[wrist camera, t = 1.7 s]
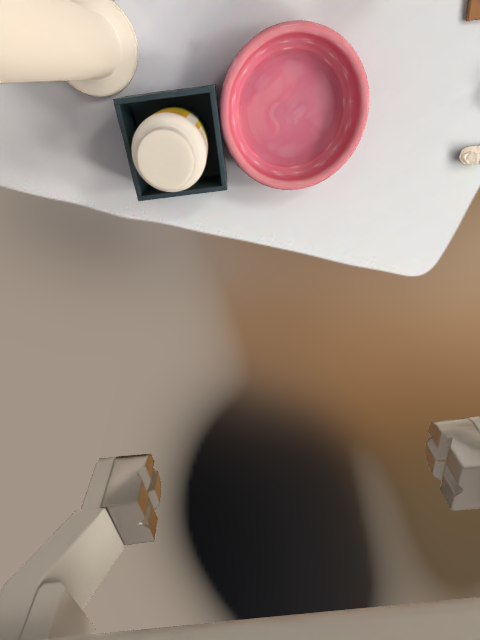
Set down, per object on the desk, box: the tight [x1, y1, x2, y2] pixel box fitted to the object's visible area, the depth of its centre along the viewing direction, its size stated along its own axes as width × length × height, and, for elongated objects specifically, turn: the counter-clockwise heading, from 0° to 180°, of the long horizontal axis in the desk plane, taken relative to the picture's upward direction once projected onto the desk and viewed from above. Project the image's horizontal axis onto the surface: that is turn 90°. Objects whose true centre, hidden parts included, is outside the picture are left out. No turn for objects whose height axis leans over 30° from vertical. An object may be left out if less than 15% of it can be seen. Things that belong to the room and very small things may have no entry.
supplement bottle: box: [131, 106, 209, 192], centre depth 32 cm, size 6×6×10 cm
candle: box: [0, 0, 138, 97], centre depth 22 cm, size 7×7×25 cm
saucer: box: [220, 20, 369, 190], centre depth 34 cm, size 12×12×3 cm
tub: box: [113, 84, 227, 201], centre depth 34 cm, size 8×8×5 cm
